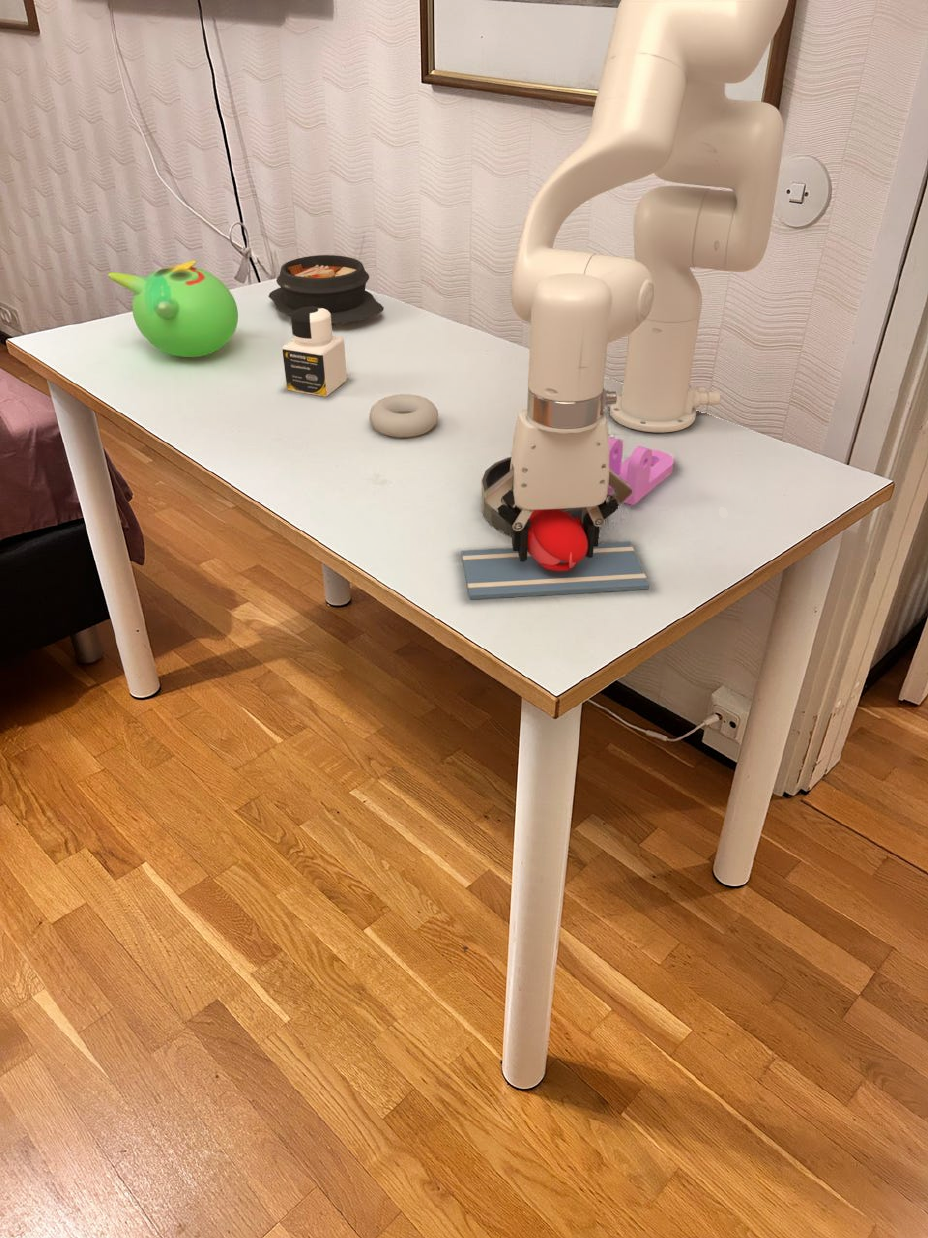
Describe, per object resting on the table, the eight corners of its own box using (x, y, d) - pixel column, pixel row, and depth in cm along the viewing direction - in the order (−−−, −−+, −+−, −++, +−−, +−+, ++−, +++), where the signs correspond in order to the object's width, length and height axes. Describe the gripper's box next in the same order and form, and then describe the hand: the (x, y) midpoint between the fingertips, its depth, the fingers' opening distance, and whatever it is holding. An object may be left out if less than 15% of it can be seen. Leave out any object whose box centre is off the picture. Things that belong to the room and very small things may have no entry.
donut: (362, 439, 134) (430, 444, 132) (359, 416, 132) (429, 421, 130) (380, 409, 142) (445, 414, 140) (379, 388, 139) (444, 392, 138)
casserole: (246, 307, 178) (240, 262, 173) (324, 285, 188) (320, 242, 183) (327, 341, 163) (323, 293, 158) (407, 316, 174) (405, 269, 169)
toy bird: (262, 352, 160) (250, 263, 151) (179, 381, 150) (161, 288, 141) (199, 327, 169) (184, 243, 160) (116, 353, 159) (96, 265, 150)
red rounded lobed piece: (599, 561, 105) (604, 515, 102) (566, 584, 102) (570, 537, 98) (544, 535, 110) (547, 490, 106) (510, 556, 106) (512, 510, 102)
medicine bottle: (286, 390, 147) (277, 314, 140) (309, 374, 152) (301, 300, 145) (326, 397, 145) (319, 321, 137) (348, 380, 150) (342, 305, 143)
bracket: (633, 505, 118) (639, 455, 114) (595, 492, 121) (599, 443, 117) (679, 466, 127) (686, 418, 123) (642, 454, 129) (648, 407, 125)
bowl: (588, 479, 124) (591, 450, 121) (614, 539, 112) (617, 509, 109) (475, 484, 123) (476, 455, 120) (489, 546, 111) (490, 515, 108)
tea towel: (629, 545, 111) (629, 540, 110) (648, 589, 104) (649, 584, 103) (461, 554, 109) (461, 549, 109) (469, 599, 102) (469, 594, 102)
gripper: (639, 385, 98) (622, 531, 109) (474, 392, 97) (473, 539, 107) (658, 416, 92) (638, 567, 103) (483, 424, 91) (481, 576, 101)
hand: (554, 551), depth 105 cm, fingers closed on red rounded lobed piece, 6 cm apart
